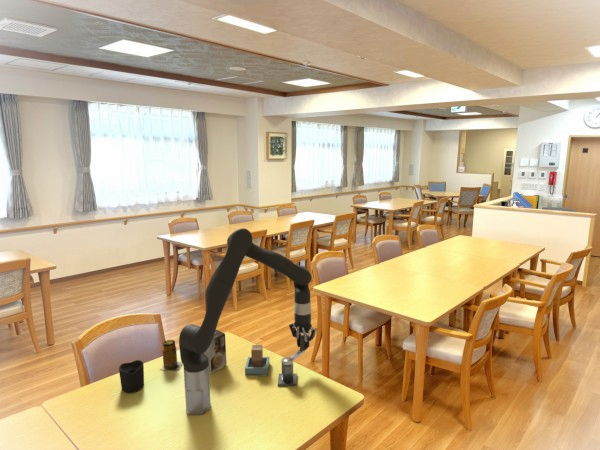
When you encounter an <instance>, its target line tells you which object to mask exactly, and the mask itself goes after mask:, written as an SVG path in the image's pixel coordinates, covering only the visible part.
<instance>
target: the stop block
mask: <svg viewBox="0 0 600 450" xmlns="http://www.w3.org/2000/svg"><path fill="white" fill-rule="evenodd" d="M263 347H264V346H263V344H253V345H252V346H251V353H250V354H251V357H252V367H263V357H264V356H263V355H264V354H263V353H264V352H263Z"/></svg>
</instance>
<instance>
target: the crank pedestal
mask: <svg viewBox="0 0 600 450" xmlns="http://www.w3.org/2000/svg"><path fill="white" fill-rule="evenodd" d="M277 378H278V380H277V387H297V384H298V382H297V380H298V373H294V364H293V365H291V366H284V365H282V364H281V373H278V377H277Z"/></svg>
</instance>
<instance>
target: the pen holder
mask: <svg viewBox="0 0 600 450" xmlns="http://www.w3.org/2000/svg"><path fill="white" fill-rule="evenodd" d="M144 369H145V368H144V362H143V361H142V360H139V359H135V360H133V361H132V362H124V363H121V364H120V365H119V367H118V371H119V380H120V386H121V391H122V392H123V393H125V394H134V393H136V392H139V391H141V390H143V388H144V386H145V373H144V372H145V371H144Z"/></svg>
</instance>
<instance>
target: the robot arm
mask: <svg viewBox="0 0 600 450" xmlns="http://www.w3.org/2000/svg"><path fill="white" fill-rule="evenodd" d="M226 244H227V245H226V246H227V250H226V253H225V255H224V257H223V258H222V260H221V261H220V263H219V264H218V266H217V267H216V269H215V270H214V272H213V274H212V275H211V278H210V279H209V282H208V284H207V287H206V289H205V295H204V296H205V314H204V317H203V319H202V323H201V325H200V326H199V325H197V324H193V323H191V324H190V323H189V324H186V325H185V326H184V327H182V329H181V330H180V333H179V337H178V346H179V353H180V355H179V356H180V360H181V361H180V362H182V366H183V376H184V377H183V378H184V397H185V411H186V413H187V415H204V414H205V413H206V412H208V410H210V408H211V387H210V386H211V385H210V372H209V361H208V357H207V356H206V355H205V354H204V352H205V351H207V349H208V348H209V346H210V344H211V342H212V340H213V337H214V334H215V330H217V327H218V324H219V321H220V318H221V316H222V312H223V311H224V308H225V306H226V304H227V303H226V302H227V301H228V298H229V296H230V295H231V291H232V290H233V287H234V284H235V282H236V279H237V276H238V274H239V270H240V268H241V265H242V262H243V261H244V259H245V258H246V257H248V258H250V259H252V260H254V261H257V262H258V263H260V264H262V265H265V266H267V267H268V268H271V269H272V270H273V271H276V272H278V273H279V274H281V275H284V276H285V277H287V278H288V279H290V280H291V281H293V287H294V303H293V304H294V306H293V309H294V311H293V312H294V313H293V316H294V317H293V318H294V319H293V320H294V322H292V323H290V324H289V325H288V327H289V329H290V332H291V335H292V337H293V338H295V339H296V346H297V348H300V336H301V335H304V337H305V349H306V350H307V349H308V348H309V347H310V342H311V341H312V340H314V338H315V336H316V333H317V331H318V329H317V328H316V327H315V328H314V326H312V304H311V290H310V287H309V284H310V283H311V281H312V274H311V272H310V270H308V268H307V267H305V266H304V265H298V264H296V263H294V262H293V260H291V259H289V258H287V257H286V256H284V255H283V254H280V253H278V252H276V251H273V250H269V249H266V248H263V247H261V246H259V245H257V244H255V243H254V242H253V235H252V233H251V231H250V230H249V229H247V228H244V227H241V228H238V229H235V230H234V231H233V232H231V234H230V235H229V236H228V237H227V240H226Z"/></svg>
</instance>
